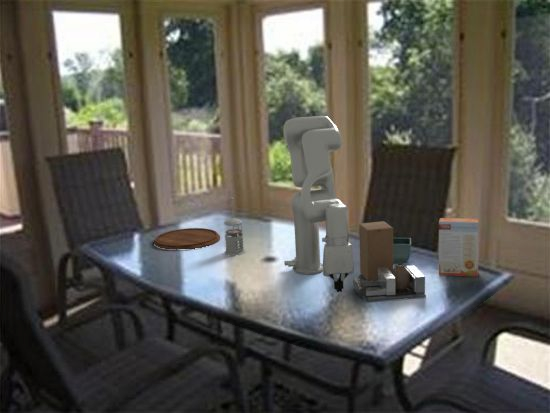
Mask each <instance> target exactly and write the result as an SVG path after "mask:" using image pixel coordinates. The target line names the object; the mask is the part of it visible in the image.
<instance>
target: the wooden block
mask: <svg viewBox="0 0 550 413" xmlns="http://www.w3.org/2000/svg"><path fill="white" fill-rule="evenodd" d="M358 226H359V228H358V231H359V233H358V234H359V271H360V275H362V277H363V278H364V279H365V281H371V280H378V267H387V269H388V270H389V271H390V272H392V271H393V269H394V263H393V238H394V227H392V226H391V225H390V224H389V223H387V222H385V221H384V220H382V221H374V222H362V223H359V224H358Z"/></svg>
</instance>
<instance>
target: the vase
mask: <svg viewBox="0 0 550 413" xmlns="http://www.w3.org/2000/svg"><path fill="white" fill-rule="evenodd" d="M391 273H392V275H393V276H394V277H395V289H396V290H405V289H406V288H408V286H409V284H410V274H409V272H408V270H407V269H406V266H405V264H395V266H394V267H393V271H392V272H391Z"/></svg>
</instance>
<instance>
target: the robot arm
mask: <svg viewBox="0 0 550 413" xmlns="http://www.w3.org/2000/svg"><path fill="white" fill-rule="evenodd" d="M283 137H284V140H285V143H286V146H287V148H288V152H289V157H290V168H291V176H292V182H293V184H294V186H295V187H297V188H300V189H301V190H300V191H298V192H295V193H293V195H292V196H291V199H290V207H291V212H292V217H293V224H294V241H295V242H294V245H295V257H294V259H292V260H284V266H285V267H286V266H288V267H289V268H291V267H292V271H293V272H294V273H296V274H300V275H313V274H319V273H322V276H323V277H327V278H328V277H329V278H331V279H332V280H333V288H334V290H336V293H342V292H343V289H344V281H345V279H346V278H347V277H348V276H350V275H352V274H354V273H355V271H354V270H355V264H354V254H353V248H352V244H351V242H349V218H348V216H349V214H348V213H349V210H348V207H347V205H345V204H344V203H343V202H342V201H341V199H338V198H336V187H335V176H334V170H333V167H332V164H331V159H330V154H329V153H330V152H337V151H339V150H341V148H342V146H343V138H342V134H341V132H340V130H339V128H338V127H337V125H336V124H335V123H334V122H333V121H332V120H331V118H329V117H328V116H326V115H316V116H315V115H313V116H300V117H295V118H294V117H293V118H290V119H287V120H286V121H285V123H284V125H283ZM313 187H320V189H312V190H311V188H313ZM319 223H325V236H324V237H322V238H321V242H322V243H324V246H323V251H322V252H323V254H322V263H321V252H320V251H321V249H320V247H321V246H320V227H319ZM288 267H287V268H288ZM338 275H339V277H338Z"/></svg>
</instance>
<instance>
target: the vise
mask: <svg viewBox="0 0 550 413" xmlns="http://www.w3.org/2000/svg"><path fill="white" fill-rule="evenodd" d="M405 268H406V269H407V270H408V272H409V274H410V284H409V286H408V288H406V289H405V290H396V289H395V295H374V296H366V297H364V298H365V300H366V301H367V303H376V302H377V303H378V302H387V301H388V302H389V301H400V300H411V299H413V300H414V299H423V298H424V299H425V298H427V294H426V276H425V275H424V274H423V273H422V272H421V270H419V269H418V267H416V265H414V264H413V265H406V266H405ZM365 287H366V290H377V289H382V288H381V287H380V285H377V286H365Z"/></svg>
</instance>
